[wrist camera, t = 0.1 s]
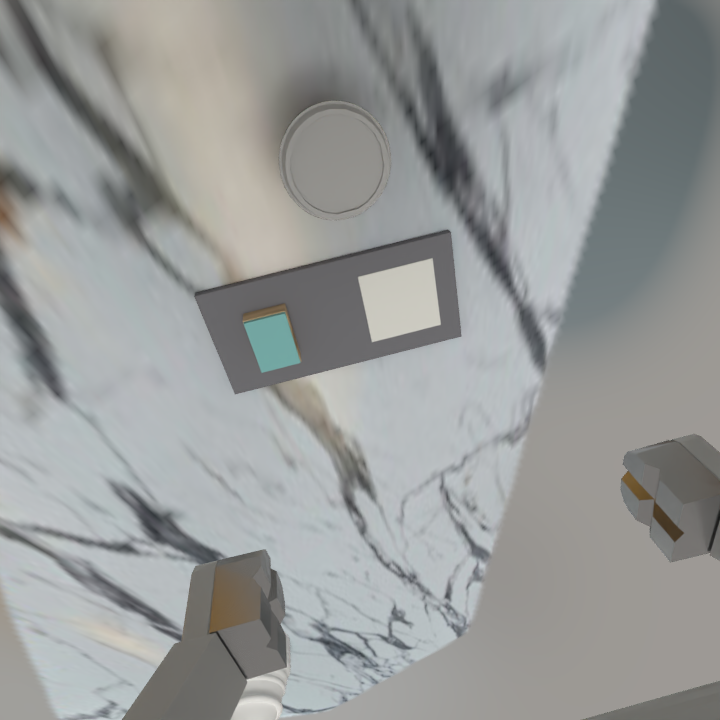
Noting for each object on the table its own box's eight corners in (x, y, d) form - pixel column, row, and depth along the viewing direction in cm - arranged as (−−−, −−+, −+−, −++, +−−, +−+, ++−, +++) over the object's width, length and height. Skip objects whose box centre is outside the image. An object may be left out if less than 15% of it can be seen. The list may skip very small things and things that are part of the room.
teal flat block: (243, 313, 58) (242, 323, 56) (285, 303, 58) (285, 312, 56) (261, 363, 62) (261, 373, 60) (300, 353, 62) (301, 363, 60)
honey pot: (215, 630, 90) (204, 747, 75) (287, 620, 92) (291, 732, 76) (224, 669, 96) (216, 783, 81) (291, 658, 98) (296, 768, 83)
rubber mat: (195, 292, 57) (194, 296, 56) (448, 229, 58) (451, 232, 57) (235, 389, 65) (235, 394, 64) (458, 332, 65) (461, 336, 65)
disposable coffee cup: (335, 71, 48) (353, 74, 38) (386, 158, 53) (414, 181, 43) (257, 131, 50) (254, 150, 40) (313, 210, 54) (323, 245, 44)
